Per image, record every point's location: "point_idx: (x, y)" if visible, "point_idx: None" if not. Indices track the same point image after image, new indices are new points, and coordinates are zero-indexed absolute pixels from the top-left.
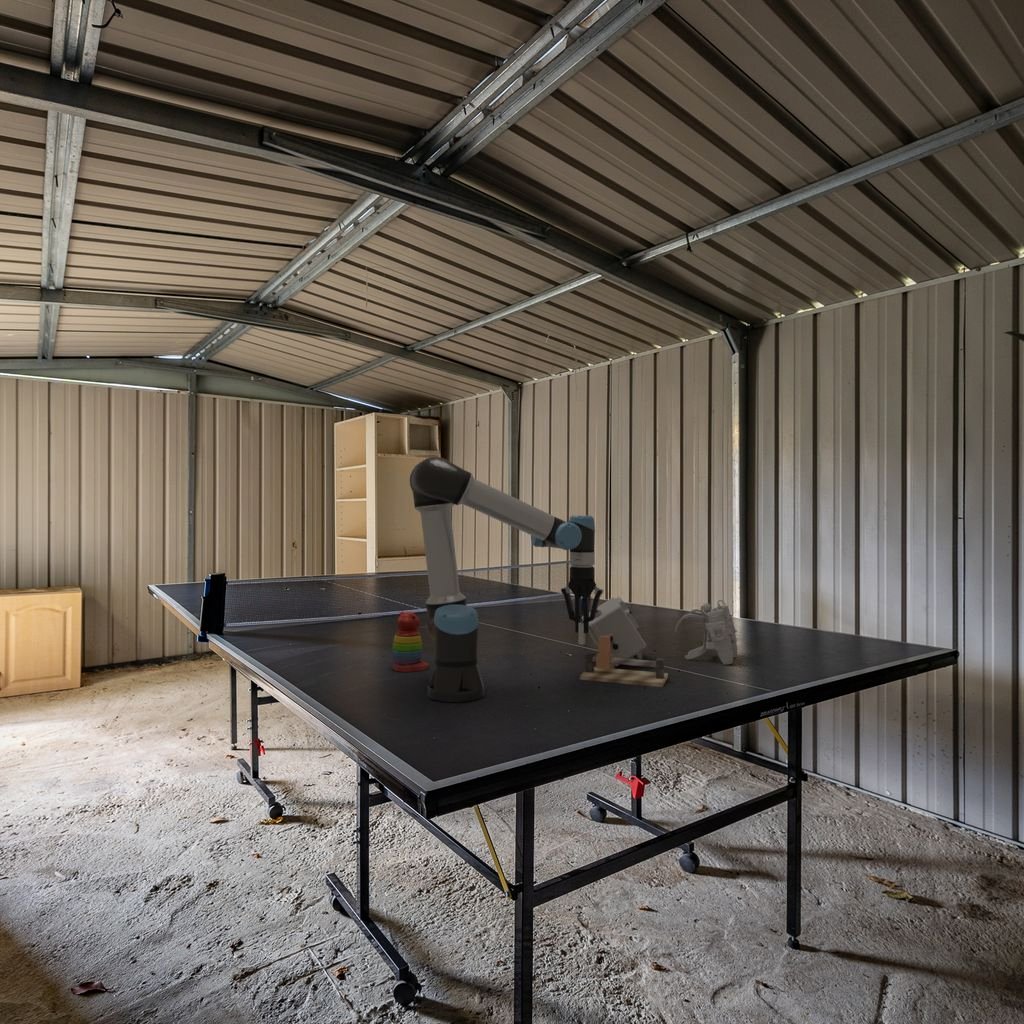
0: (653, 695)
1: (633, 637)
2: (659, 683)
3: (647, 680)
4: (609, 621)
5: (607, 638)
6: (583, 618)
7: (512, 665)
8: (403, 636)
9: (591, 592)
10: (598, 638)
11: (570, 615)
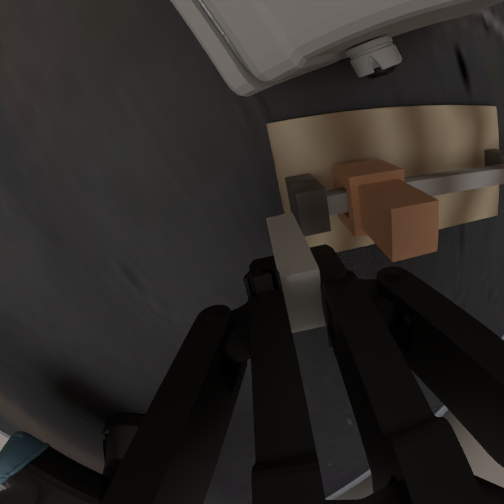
0: (475, 282)
1: (457, 15)
2: (491, 216)
3: (471, 210)
4: (411, 20)
5: (431, 248)
6: (333, 344)
7: (32, 220)
8: None
9: (491, 501)
10: (389, 258)
11: (225, 378)
